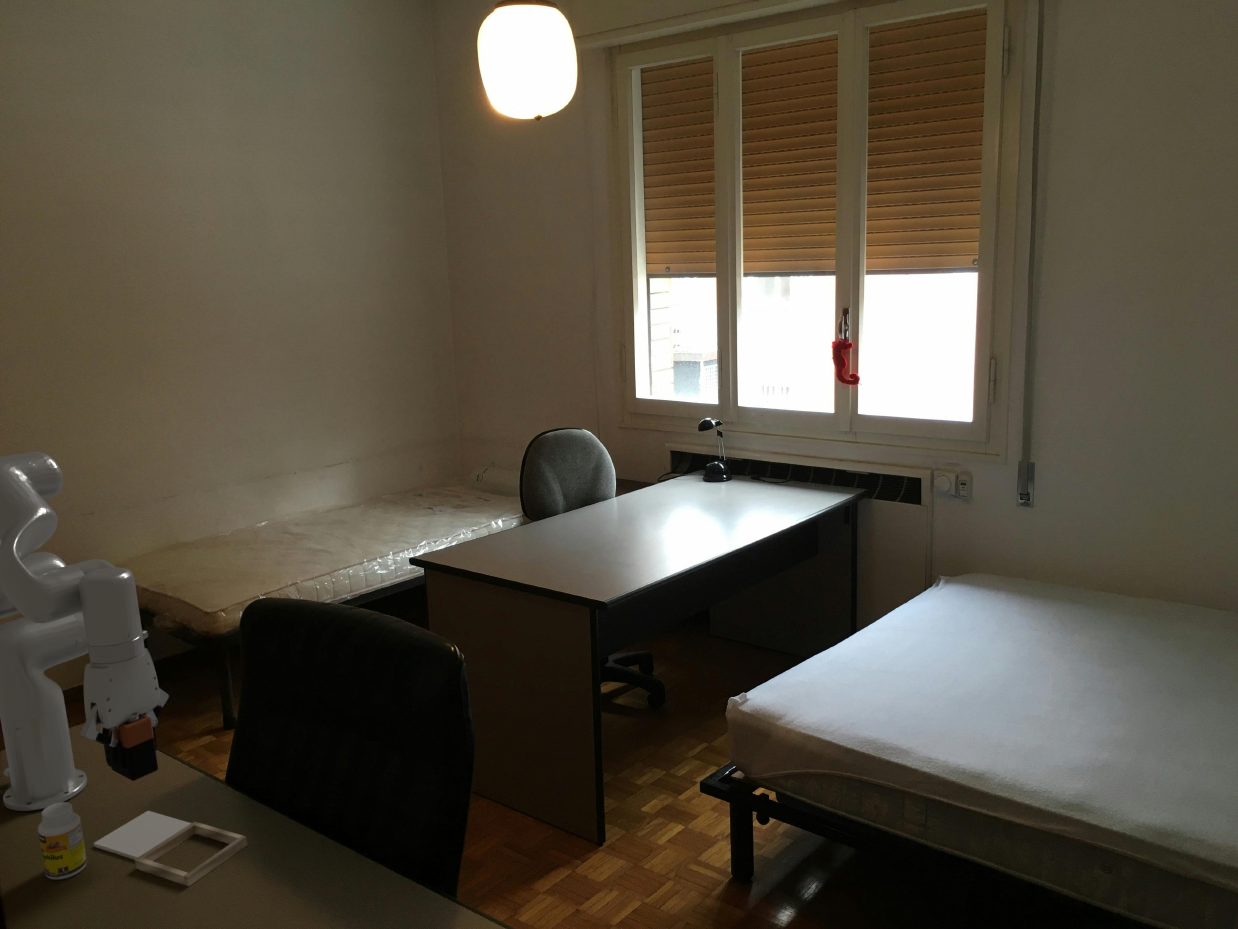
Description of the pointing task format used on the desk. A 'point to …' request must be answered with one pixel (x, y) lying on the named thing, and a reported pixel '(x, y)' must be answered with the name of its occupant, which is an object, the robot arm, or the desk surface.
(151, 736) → the battery
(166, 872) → the holder frame
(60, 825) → the supplement bottle
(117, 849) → the ceramic pad
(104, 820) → the desk surface
